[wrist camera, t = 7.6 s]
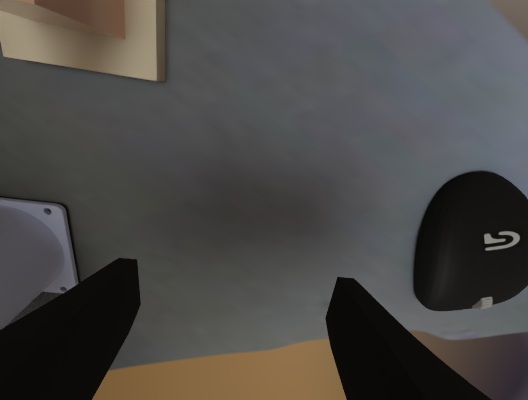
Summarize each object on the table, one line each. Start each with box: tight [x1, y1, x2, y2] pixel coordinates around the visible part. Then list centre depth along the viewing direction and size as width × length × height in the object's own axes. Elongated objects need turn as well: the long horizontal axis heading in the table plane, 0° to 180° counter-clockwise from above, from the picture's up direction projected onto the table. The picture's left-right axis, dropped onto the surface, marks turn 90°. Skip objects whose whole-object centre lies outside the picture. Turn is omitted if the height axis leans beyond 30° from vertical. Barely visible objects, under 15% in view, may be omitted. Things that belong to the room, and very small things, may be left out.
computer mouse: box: [414, 172, 528, 311], centre depth 19 cm, size 8×12×4 cm, turn 9°
